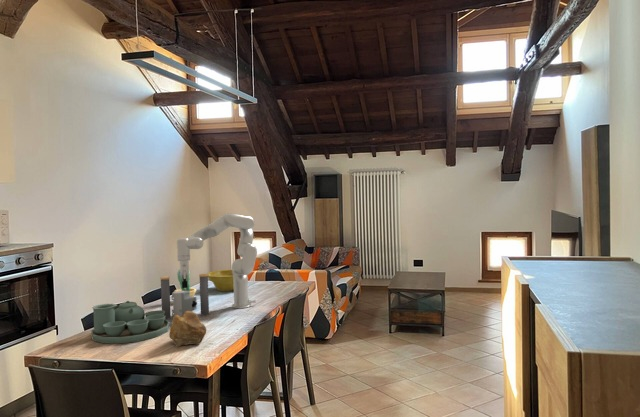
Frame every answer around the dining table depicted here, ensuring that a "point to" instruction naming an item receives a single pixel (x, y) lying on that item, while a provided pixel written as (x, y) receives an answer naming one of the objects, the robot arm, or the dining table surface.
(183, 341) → the rough brown rock
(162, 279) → the post
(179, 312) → the circuit breaker
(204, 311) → the post
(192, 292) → the potted cactus
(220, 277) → the planter bowl
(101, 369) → the dining table surface
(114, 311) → the tea set
